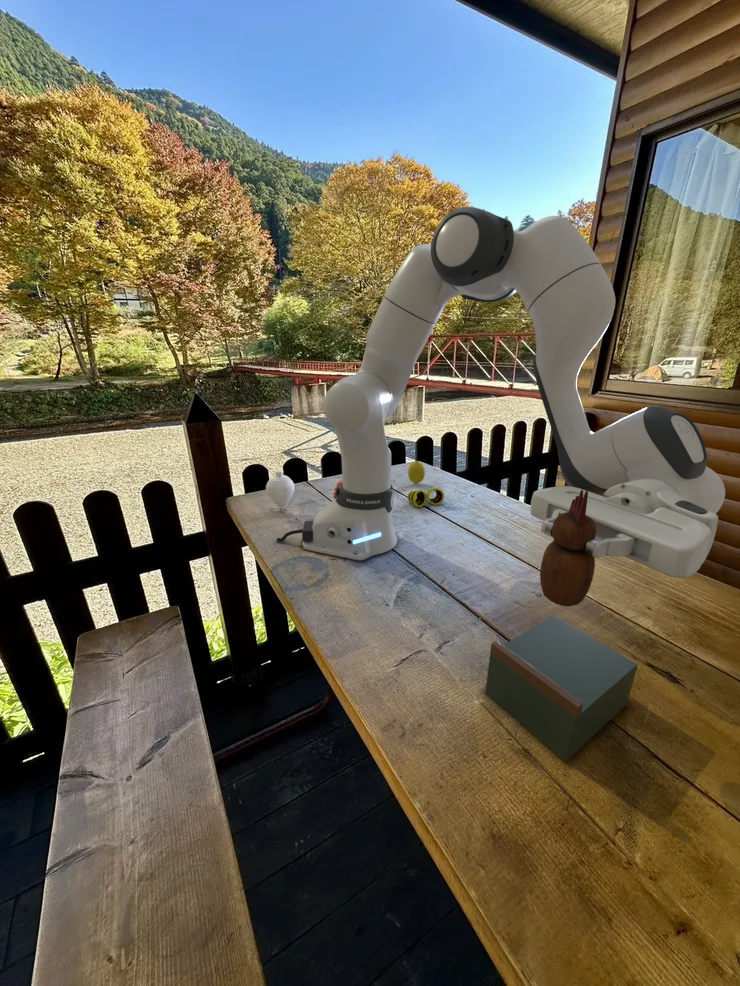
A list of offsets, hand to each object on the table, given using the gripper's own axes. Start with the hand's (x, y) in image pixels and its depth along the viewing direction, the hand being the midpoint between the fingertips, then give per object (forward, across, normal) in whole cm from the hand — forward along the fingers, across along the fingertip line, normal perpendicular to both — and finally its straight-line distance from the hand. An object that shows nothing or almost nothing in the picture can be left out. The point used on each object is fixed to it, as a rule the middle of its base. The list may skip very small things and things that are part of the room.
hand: (567, 538), depth 48 cm
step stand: (-1, +2, +24) cm, 24 cm away
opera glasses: (-26, -63, +24) cm, 72 cm away
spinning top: (+12, -78, +24) cm, 83 cm away
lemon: (-34, -78, +24) cm, 88 cm away
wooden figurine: (-1, 0, +9) cm, 9 cm away
